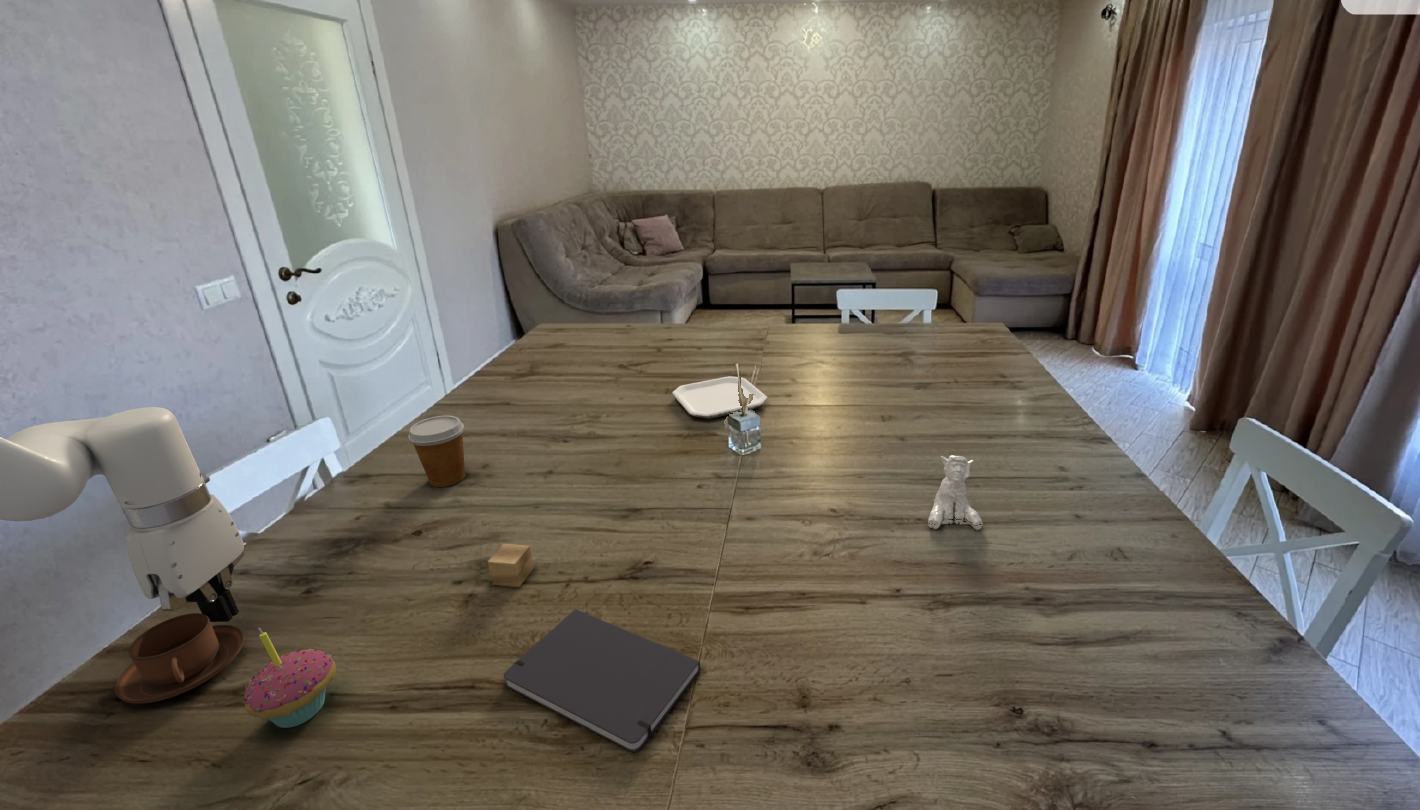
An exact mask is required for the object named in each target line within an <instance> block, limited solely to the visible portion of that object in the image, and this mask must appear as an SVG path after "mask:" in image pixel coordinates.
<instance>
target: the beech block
mask: <svg viewBox="0 0 1420 810" xmlns="http://www.w3.org/2000/svg"><path fill="white" fill-rule="evenodd" d="M487 565H488V569H489V570H488V571H489V574H490V579H491V583H492V586H499V587H501V586H502V587H511V588H520V587H521V586H522V584H523V583H524V582H526V579H527V578H528V577H529V575H530V574H531V573H532V572H533V570H534V569H535V567H534V561H533V555H532V551H531V546H530V545H526V544H524V545H523V544H514V543H503V544H502V545H501V546H499V548H498V549H497V551H496V552H495V553H494V554H493V555H492V556H491V557H490V558H489V560H487Z"/></svg>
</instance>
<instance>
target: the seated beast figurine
mask: <svg viewBox="0 0 1420 810" xmlns="http://www.w3.org/2000/svg"><path fill="white" fill-rule="evenodd" d="M939 458H940V460H941V462H942V464H943V465H944V467H943V473H944V474H945V477H944V478H943V479H942V480H941V482H940V485H939V488H938V491H937V493H935V497H934V500H933V506H932V508H931V511H930V512H929V516H928V518H927V519H928V520H927V526H928V527H929V528H930V529H933V530H938V529H939V528H940V526H941V525H952V524H956V525H970V527H972V528H973V530H975V531H980V530H981V529H982V528H983V524H984V522H983V520H982V518H981V516H980V514H979V513H978V512H977V511H976V510H975V509H974V508H972V506H971V504H970V502H969V500H968V499H967V497H968V496H967V495H968V491H967V485H966V483H965V482H966V480H967V479H968V478H969V477H971V470H970V468H971V465H972V463H974V461H975V460H974V459H971V460H969V461H968V459H967V457H964V456H962V455H949V457H948V458H947V457H945V456H943V455H940V456H939ZM943 515H944V516H943ZM964 516H965V517H964ZM954 517H955V518H956V519H962V520H956V519H955V518H954ZM963 518H964V519H963ZM948 519H953V520H948ZM966 519H967V520H968V521H970V522H972V524H973V525H972V524H971V523H970V522H968V521H967V520H966ZM929 523H930V524H929ZM932 523H933V524H932ZM934 524H936V525H934ZM979 524H982V525H979ZM974 525H978V526H974Z"/></svg>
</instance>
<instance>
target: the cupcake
mask: <svg viewBox="0 0 1420 810" xmlns="http://www.w3.org/2000/svg"><path fill="white" fill-rule="evenodd" d="M257 630H258V631H259V633H260V634H259V635H258V636H259V639H260V640H261V643H262V645H263V647H264V648H265V650H266V652H267V654H268V655H269V657H270V659H271V660H270V661H269V662H268V663H265V664H264V667H262V668H261V669H260V670H258V672H256V673H255V674H254V675H253V676H252V678H251V679H250V680H249V682H248V684H247V685H246V686H245V690H244V693H243V694H244V697H243V702H244V707H245V711H246V713H247V714H248V715H250V716H253V717H254V718H259V719H261V720H269V721H270V722H271V723H273V724H274V725H275V726H277V727H278V728H282V729H289V728H293V727H294V728H295V727H297V726H299V725H302V724H304V723H306V722H308V721H310V720H311V719H312V718H313V717H314V716H316V715H317V714H318V713H319V712H320V711H321V709H322V708H323V706H324V704H325V701H326V700H325V699H326V698H325V697H326V690H327V687H328V685H329V684H330V683H331V682H332V681H333V680H334V678H335V677H336V673H337V665H336V662H335V660H334V659H333V657H332V654H329V653H327V652H326V650H325V649H324V650H318V649H314V648H307V649H304V648H301V649H300V650H296V651H291V652H288V653H285V654H283V655H281V656H279V654H278V653H277V651H276V648H275V647H274V644H273V643H272V640H271V639H270V637H269V635H268V633H267V632H266V631H265V632H263V630H262V629H261V627H257Z"/></svg>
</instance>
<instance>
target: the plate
mask: <svg viewBox="0 0 1420 810" xmlns="http://www.w3.org/2000/svg"><path fill="white" fill-rule="evenodd" d="M738 377H739V376H731V375H729V376H724V377H718V378H713V379H709V380H702V381H698V382H693V383H687V384H681V385H679V386H678V387H677V388H676V389H674V390H673V391H672V393H671V394H672V395H671V396H673V398H675V400H677V402H678V403H679V404H680V405H681V407H683V409H684V410H685V411H686V412H687V413H688V414H689V415H690V416H693V417H696V418H700V419H707V420H709V419H717V418H721V417H725V416H729V415H728V413H731V412H736V411H738V412H739V413H742V412H741V411H740V410H741V408H742V406H740V403H739V401H738V400H739V396H738V394H739V392H738ZM741 388H742V389H743V394H744V396H745V397H746V398H749V394H754V395H753V400H752V401H751V403H750V404H748V405H747V406H748V411H752V410H754V409H757V408H758V407H761V406H763V405H764V404H765V402H766V401H767V400H768V396H767V395H766V394H764V393H763V392H762V391H761V390H760V389H758V388H757V387H756V386H755V385H754V384H753V383H751V382H750V381H749V380H747V379H746V378H745V377H741ZM751 408H752V409H751Z"/></svg>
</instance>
